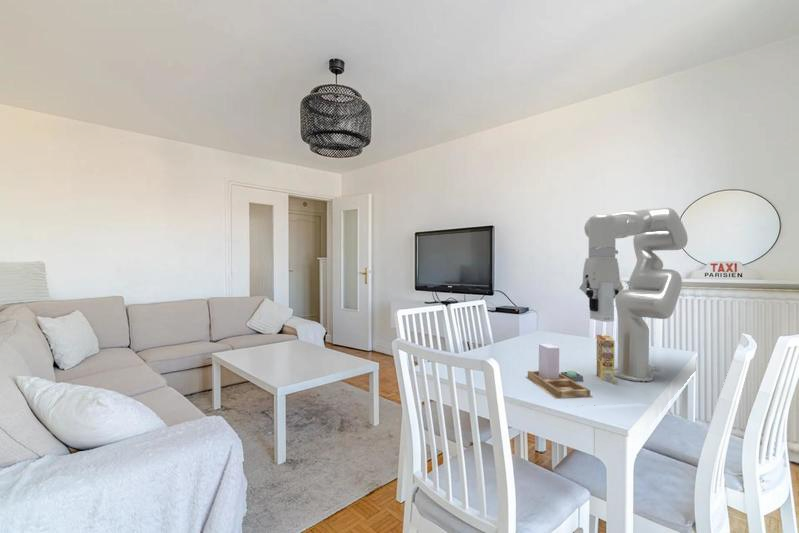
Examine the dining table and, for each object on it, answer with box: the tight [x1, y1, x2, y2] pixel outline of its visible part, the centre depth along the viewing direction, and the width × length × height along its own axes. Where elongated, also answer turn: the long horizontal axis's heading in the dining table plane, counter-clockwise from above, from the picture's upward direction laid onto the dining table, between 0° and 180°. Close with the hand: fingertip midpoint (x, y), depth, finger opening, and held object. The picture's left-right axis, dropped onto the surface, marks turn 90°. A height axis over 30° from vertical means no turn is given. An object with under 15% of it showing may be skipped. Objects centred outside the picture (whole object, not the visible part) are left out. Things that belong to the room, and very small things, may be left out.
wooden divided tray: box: [525, 370, 594, 400], centre depth 119 cm, size 12×20×3 cm, turn 6°
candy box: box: [596, 334, 615, 385], centre depth 128 cm, size 9×4×15 cm, turn 162°
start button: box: [566, 370, 578, 376], centre depth 126 cm, size 3×3×2 cm
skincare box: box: [589, 283, 615, 323], centre depth 117 cm, size 6×4×12 cm
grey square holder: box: [560, 371, 584, 383], centre depth 126 cm, size 5×5×3 cm
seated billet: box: [538, 343, 560, 379], centre depth 124 cm, size 4×6×12 cm, turn 6°
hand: (601, 310), depth 117 cm, fingers closed on skincare box, 4 cm apart
